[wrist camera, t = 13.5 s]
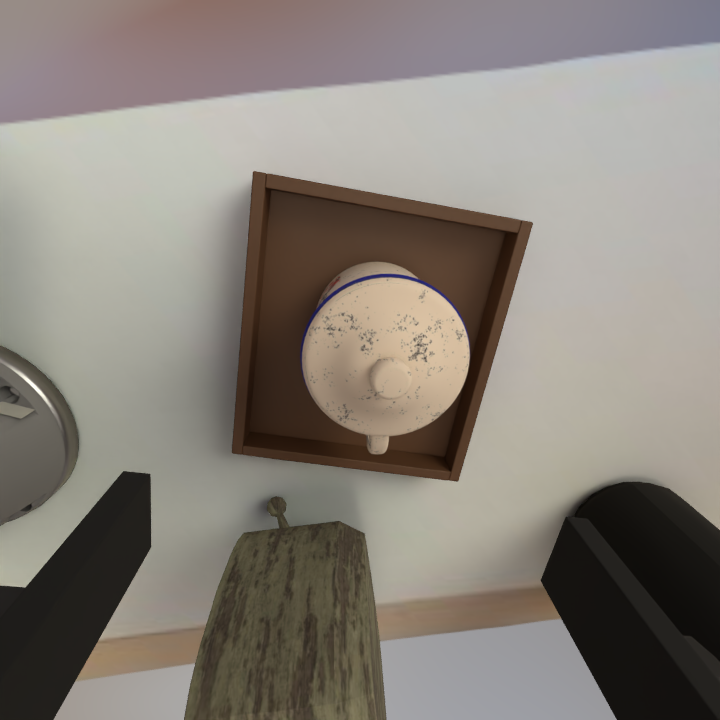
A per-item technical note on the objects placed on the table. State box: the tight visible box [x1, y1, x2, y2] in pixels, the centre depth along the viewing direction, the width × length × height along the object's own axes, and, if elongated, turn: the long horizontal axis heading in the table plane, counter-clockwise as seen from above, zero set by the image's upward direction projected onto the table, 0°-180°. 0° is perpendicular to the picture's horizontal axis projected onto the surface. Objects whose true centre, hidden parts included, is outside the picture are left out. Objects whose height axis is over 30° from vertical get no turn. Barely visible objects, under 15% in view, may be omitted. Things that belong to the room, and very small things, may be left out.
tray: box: [232, 171, 533, 481], centre depth 30 cm, size 18×20×3 cm
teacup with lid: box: [300, 262, 470, 454], centre depth 25 cm, size 12×9×12 cm
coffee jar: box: [574, 482, 720, 662], centre depth 29 cm, size 11×11×18 cm
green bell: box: [184, 497, 386, 720], centre depth 25 cm, size 14×9×25 cm, turn 7°
